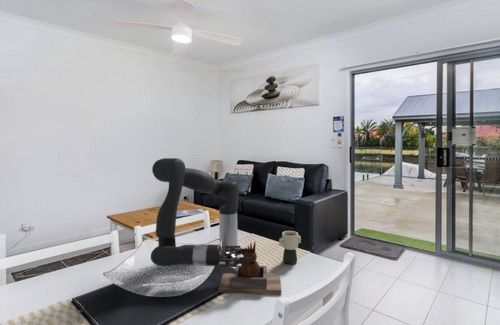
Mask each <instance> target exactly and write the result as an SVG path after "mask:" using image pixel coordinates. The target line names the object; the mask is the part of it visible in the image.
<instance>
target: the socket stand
mask: <svg viewBox="0 0 500 325" xmlns="http://www.w3.org/2000/svg"><path fill="white" fill-rule="evenodd" d="M281 281H282V280H281V274H268V267H267V266H266V265H259V276H258V278H256V277H242V276H241V265H240V264H239V265H237V267H234V272H233V273H230V272H229V273H226V272H224V273H222V276H221V280H220V282H219V285H218V288H217V290H218V291H217V293H218V292H221V293H222V294H252V295H277V296H278V295H279V296H280V295H281V296H282V282H281ZM221 293H220V294H221Z"/></svg>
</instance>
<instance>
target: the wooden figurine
mask: <svg viewBox="0 0 500 325" xmlns="http://www.w3.org/2000/svg"><path fill="white" fill-rule="evenodd" d="M252 245H253V246H252ZM245 248H246V249H245V252H244V255H243V256H242V257H249V258H250V264H240V266H241V276H242V277H256V278H258V276H259V266H260V264H259V263H258V262H257V260H258V258H257V257H258V255H257V253H256V241H254V242H253V244H252V242H250V245H249V244H248V245H247V247H246V246H245Z"/></svg>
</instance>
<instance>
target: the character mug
mask: <svg viewBox="0 0 500 325" xmlns="http://www.w3.org/2000/svg"><path fill="white" fill-rule="evenodd" d="M301 243H302V237H301V235H299V233H298V232H297V231H294V230H284V231H282V233H281V237H280V238H279V240H278V246H280V247H282V248H283V249H284V250H283V256H282V262H285V263H287V264H291V265H293V264H296V263H297V262H298V257H297V249H298V248H299V244H301Z"/></svg>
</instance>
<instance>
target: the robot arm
mask: <svg viewBox="0 0 500 325" xmlns="http://www.w3.org/2000/svg"><path fill="white" fill-rule="evenodd" d="M151 168H152V169H151V172H152V174H153V177H155V179H156V180H158V181H159V182H163V183H168V191H167V192H166V193H167V194H166V195H165V198H164V200H163V202H162V203H161V206H160V207H159V210H158V211H157V215H156V223H155V236H156V237H157V238H158V244H157V245H158V246H156V247H155V248H154V249H153V250H152V251H151V254H150V260H151V262H152V263H153V264H154V265H156V266H159V267H171V266H178V265H187V266H192V265H193V266H200V267H201V266H202V267H203V266H204V267H223V268H225V267H227V268H236V267H237V265H239V266H240V265H241V264H250V258H249V257H243V256H241V255H244V252H245V249H246V247H244V248H243V247H241V245H238V207H239V196H240V189H239V188H240V187H239V185H238V183H237V182H236V181H230V180H229V181H228V180H218V179H215V178H214V177H213V175H212V174H211V173H209V172H206V171H203V170H200V169H195V168H190V167H186V164H185V162H184V161H183V160H182V159H181V158H178V157H177V158H176V157H173V158H171V157H168V158H167V157H165V158H160V159H158V160H156V161H155V162H153V165H152V167H151ZM183 188H187V189H189V190H193V191H195V192H200V193H202V194H210V195H212V196H214V197H217V198H218V199H221V200H227V201H226V204H224V205H221V206H220V207H219V209H218V216H219V219H218V220H219V221H218V222H219V224H218V225H219V228H218V230H219V234H218V235H219V238H218V239H221V240H222V248H221V246H220V244H207V243H206V244H183V245H179V246H177V245H176V244H177V243H176V223H177V222H176V221H177V213H178V212H177V211H178V206H179V203H180V199H181V194H182V190H183Z"/></svg>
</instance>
